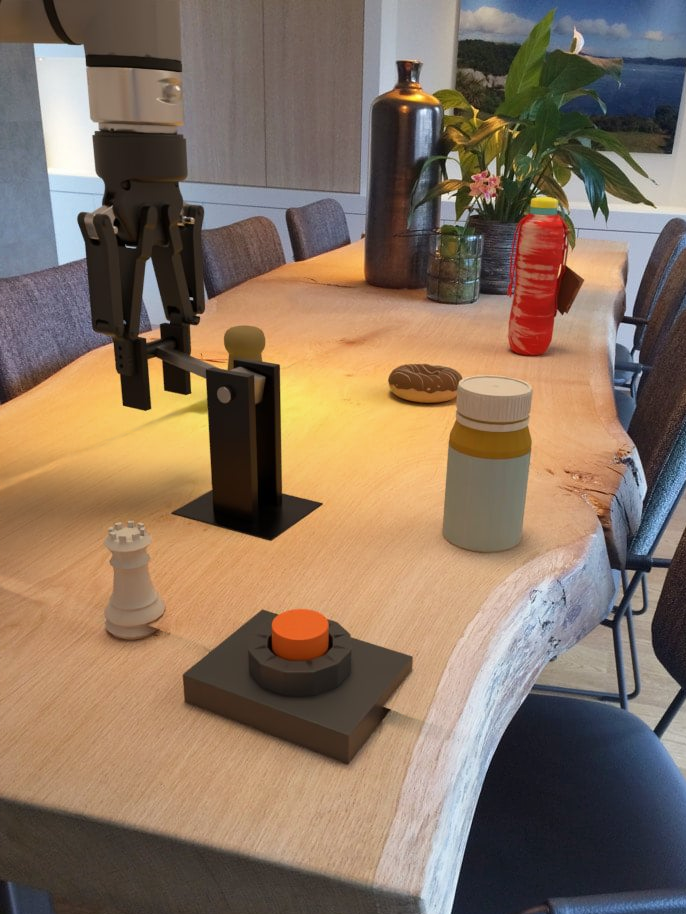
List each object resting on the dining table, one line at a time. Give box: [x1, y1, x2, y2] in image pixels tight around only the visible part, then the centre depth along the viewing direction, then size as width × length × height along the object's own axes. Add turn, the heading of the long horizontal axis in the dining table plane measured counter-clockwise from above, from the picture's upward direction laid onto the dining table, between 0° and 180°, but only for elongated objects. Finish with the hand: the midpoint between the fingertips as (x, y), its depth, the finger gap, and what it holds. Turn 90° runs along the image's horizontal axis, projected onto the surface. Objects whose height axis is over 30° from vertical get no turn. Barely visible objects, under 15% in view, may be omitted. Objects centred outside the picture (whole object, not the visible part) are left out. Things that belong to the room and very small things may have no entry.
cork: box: [223, 324, 266, 370], centre depth 106 cm, size 6×6×11 cm
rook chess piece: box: [103, 520, 166, 641], centre depth 60 cm, size 4×4×8 cm
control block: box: [182, 609, 414, 765], centre depth 54 cm, size 12×9×4 cm
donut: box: [387, 363, 463, 404], centre depth 116 cm, size 11×11×4 cm
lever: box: [147, 336, 266, 404], centre depth 74 cm, size 12×5×2 cm, turn 63°
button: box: [272, 608, 329, 661], centre depth 53 cm, size 4×4×2 cm
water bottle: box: [506, 196, 585, 356], centre depth 137 cm, size 12×8×25 cm, turn 91°
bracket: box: [170, 358, 324, 542], centre depth 75 cm, size 11×9×15 cm
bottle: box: [441, 374, 534, 554], centre depth 72 cm, size 7×7×15 cm
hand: (157, 399), depth 78 cm, fingers closed on lever, 5 cm apart
